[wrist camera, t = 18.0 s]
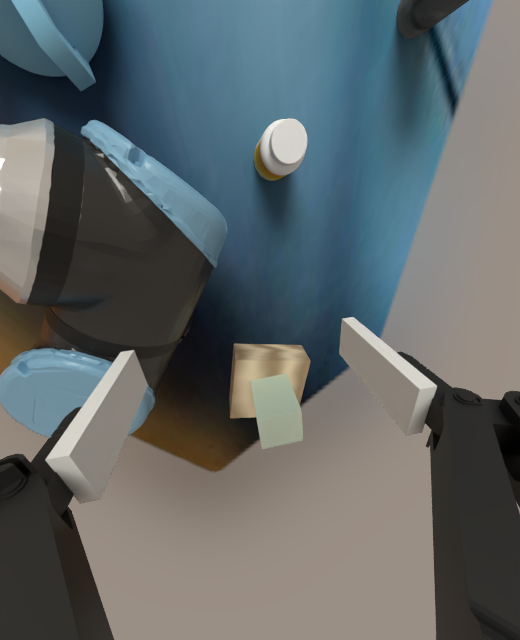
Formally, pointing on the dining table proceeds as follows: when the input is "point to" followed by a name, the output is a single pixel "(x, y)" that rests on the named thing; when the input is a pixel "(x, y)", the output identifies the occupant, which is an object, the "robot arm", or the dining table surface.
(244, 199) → the dining table surface
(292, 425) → the sage block
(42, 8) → the teapot
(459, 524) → the robot arm
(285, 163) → the supplement bottle
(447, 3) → the beverage cup
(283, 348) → the maple block
